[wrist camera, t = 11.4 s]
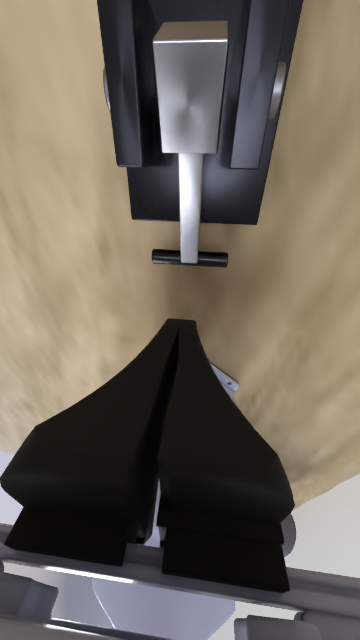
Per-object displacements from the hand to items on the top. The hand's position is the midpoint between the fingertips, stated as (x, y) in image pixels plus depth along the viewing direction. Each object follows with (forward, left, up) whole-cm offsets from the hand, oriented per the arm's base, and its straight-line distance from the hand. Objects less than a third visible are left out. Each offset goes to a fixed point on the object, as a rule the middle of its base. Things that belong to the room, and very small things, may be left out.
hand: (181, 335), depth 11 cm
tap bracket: (+6, -7, -10) cm, 13 cm away
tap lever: (+4, -5, -5) cm, 8 cm away
